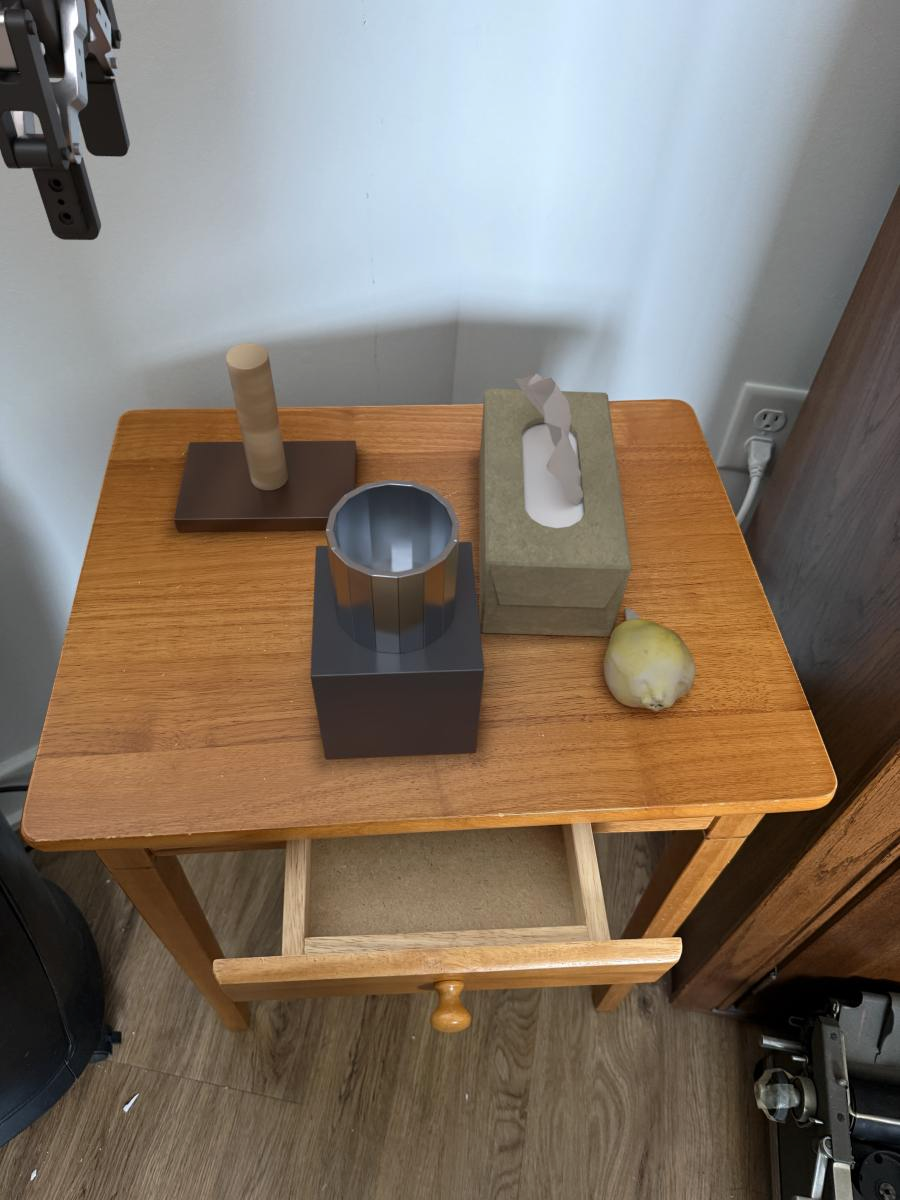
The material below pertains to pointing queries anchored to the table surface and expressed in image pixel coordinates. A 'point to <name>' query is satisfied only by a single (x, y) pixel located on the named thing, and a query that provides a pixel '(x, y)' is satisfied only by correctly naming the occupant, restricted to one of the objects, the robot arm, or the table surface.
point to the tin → (393, 564)
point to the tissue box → (550, 513)
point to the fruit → (647, 664)
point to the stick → (257, 414)
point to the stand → (397, 680)
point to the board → (232, 503)
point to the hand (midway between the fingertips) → (95, 192)
